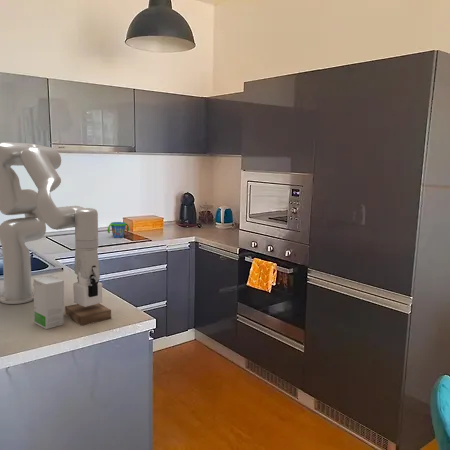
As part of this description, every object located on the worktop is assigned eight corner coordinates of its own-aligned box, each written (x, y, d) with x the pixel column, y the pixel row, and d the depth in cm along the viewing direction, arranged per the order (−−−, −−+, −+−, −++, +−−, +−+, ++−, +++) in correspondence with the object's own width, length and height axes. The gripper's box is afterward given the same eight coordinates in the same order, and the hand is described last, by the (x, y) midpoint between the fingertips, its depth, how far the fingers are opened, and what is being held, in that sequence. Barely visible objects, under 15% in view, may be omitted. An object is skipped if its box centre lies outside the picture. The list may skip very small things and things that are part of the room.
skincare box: (33, 323, 144) (31, 278, 142) (51, 318, 149) (50, 274, 147) (46, 330, 139) (45, 283, 137) (65, 324, 144) (64, 279, 142)
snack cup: (125, 235, 310) (125, 221, 308) (132, 237, 302) (132, 223, 300) (104, 236, 301) (104, 222, 299) (110, 239, 292) (110, 224, 291)
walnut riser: (65, 314, 153) (65, 306, 153) (94, 308, 160) (94, 300, 160) (81, 325, 144) (80, 317, 143) (111, 318, 151) (111, 310, 151)
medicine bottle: (91, 298, 156) (90, 265, 154) (102, 302, 152) (102, 269, 150) (73, 302, 151) (72, 269, 149) (84, 307, 146) (84, 273, 144)
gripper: (65, 241, 152) (67, 289, 154) (87, 249, 139) (88, 302, 142) (86, 239, 157) (86, 285, 160) (109, 247, 144) (109, 297, 147)
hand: (87, 293), depth 151 cm, fingers closed on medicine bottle, 7 cm apart
